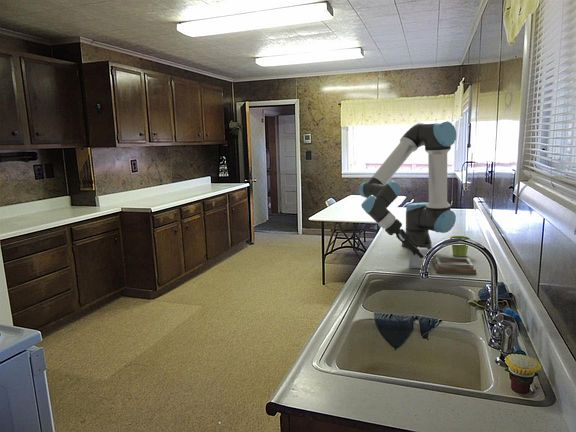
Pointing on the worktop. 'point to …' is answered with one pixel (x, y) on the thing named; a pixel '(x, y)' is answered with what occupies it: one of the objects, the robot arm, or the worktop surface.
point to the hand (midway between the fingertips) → (427, 260)
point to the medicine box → (416, 258)
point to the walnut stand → (453, 265)
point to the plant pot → (459, 247)
